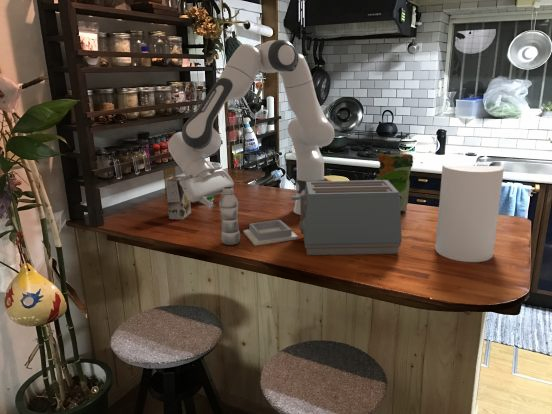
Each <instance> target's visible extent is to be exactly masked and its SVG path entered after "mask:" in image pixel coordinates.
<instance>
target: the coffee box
mask: <svg viewBox="0 0 552 414" xmlns="http://www.w3.org/2000/svg"><path fill="white" fill-rule="evenodd" d="M183 177H186V176H185V175H183V176H182V175H181V176H178V175H177V176H176V175H175V176H173V177H171V178H169V179H167V180H165V185H166V198H167V199H166V201H167V209H168V211H167V212H168V219H169V220H180V221H181V220H182V221H183V220H184V219H186V218H187V217H188V216H189V215H191V214H192V209H191V208H192V207H191V201H189V200H188V198H187V196H186V195H185V193H184V191H183V188H182V186H181V185H180V183H179V181H180V179H181V178H183Z"/></svg>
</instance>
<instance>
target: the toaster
mask: <svg viewBox="0 0 552 414" xmlns="http://www.w3.org/2000/svg"><path fill="white" fill-rule="evenodd" d="M290 197H291V200H292V201H296V200H299V199H300V221H298V228H299V231H300V234H301V235H302V234H303V243H304V248H305V251H306V255H308V256H343V255H344V256H347V255H348V256H349V255H353V256H355V255H389V254H390V255H397V254H398V253H399V250H400V249H399V248H400V247H401V246H402V242H403V241H402V239H403V238H402V237H403V236H402V217H401V213H402V212H400V197H399V192H398V191H397V190H396V188H395V187H394V186H393V185H392V184H391V183H390V182H389V181H388V180H377V179H371V180H370V179H367V180H363V179H362V180H332V181H314V182H306V186H305V195H300V196H299V195H297V194H296V195H295V194H294V195H291V196H290Z"/></svg>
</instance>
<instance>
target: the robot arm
mask: <svg viewBox="0 0 552 414" xmlns="http://www.w3.org/2000/svg"><path fill="white" fill-rule="evenodd" d="M258 73H261V74H275V73H278V74H279V75H280V76H281V78H282V83H283V87H284V91H285V95H286V99H287V103H288V106H289V108H290V109H291V111H292V112H293V114H294V115H295V117H293V118H292V119H291V120H290V121H289V123H288V126H287V132H288V136H289V137H290V139H291V142H292V146H293V149H294V154H295V159H296V160H295V161H296V179H295V191H296V195H299V196H300V195H305V186H306V182H314V181H333V180H331V178H330V179H329V178H326V177H325V160H324V157H323V155H322V153H321V151H320V148H323V147H326V146H329V145H330V144H331V143H332V142H333V141H334V138H335V133H336V132H335V129H334V126H333V125H332V123H330V121H329V120H328V118H327V117H326V115H325V113H324V111H323V108H322V107H321V105H320V102H319V101H318V97H317V93H316V90H315V85H314V81H313V76H312V73H311V70H310V68H309V65H308V61H307V60H306V58H305V56H304V55H303V54H301V53H299V52H297V49H296V48H295V46H294V45H293V44H292V43H291V42H290V41H288V40H285V39H276V40H275V39H274V40H268V41H265V42H263V43H258V44H256V45H252V44H250V43H249V44H248V43H244V44H241V45H239V46H238V47H237V48H236V49H235V51H234V52H233V53H232V55H231V56H230V57H229V59H228V61H227V62H226V64H225V67H224V69H223V71H222V72H221V74H220V76H219V78H218V80H216V81H215V82H214V84H213V85H212V87H211V88H210V89H209V92H208V93H207V94H206V96H205V98H203V101H202V103H201V104H200V106H199V107H198V109H197V111H196V112H195V113H194V114H193V115H192V116H191V117H190V118H188V119H187V121H186V122H185V123H184V124H183V126H182V129H181V131H177V132H176V133H174V134H173V135H172V136H171V137H170V138H169V139H168V142H167V150H168V152H169V153H170V155H171V157H172V159H173V160H174V161H175V163H176V164H177V165H178V166H179V167H180V169H181V170H182V173H183V174H184V176H186V177H183V178H181V179H180V181H179V183H180V185H181V186H182V188H183V191H184V193H185V195H186V196H187V198H188V200H189V201H190V203H197V202H199V200H200V202H201V203H200V202H199V203H200V204H203V205H205V206H206V207H207V208H208V209H209V210H211V209H213V208H214V207H216V206H215V204H214V202H213V201H212V202H210V201H208V200H207V199H206V198H208V197H211V196H214V197H215V196H216V195H220V194H222V192H223V187H233V188H234V187H235V182H234V180H233V179H232V177H231V176H230V175H229V174H228V172H227V171H226V170H225V169H223V166H222V164H221V163H220V162H213V161H207V160H206V158H209V157H210V156H213V155H214V154H215V153H217V152H218V151H219V150H220V148H221V146H222V137H221V135H220V133H219V132H218V131H217V130H216V129H215V128H214V122H215V120H216V118H217V117H218V115H219V113H220V112H221V110H222V109H223V106H224V105H225V104H226V103H227V102H228V101H230V100H233V101H234V100H240V99H243V98H244V97H245V96H246V95H247V93H248V92H249V91H250V89H251V88H252V85H253V83H254V81H255V79H256V77H257V75H258ZM294 203H295V204H294V208H293V213H295V214H296V215H298V216H299V215H300V199H299V200H295V202H294ZM300 216H301V215H300Z"/></svg>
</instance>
